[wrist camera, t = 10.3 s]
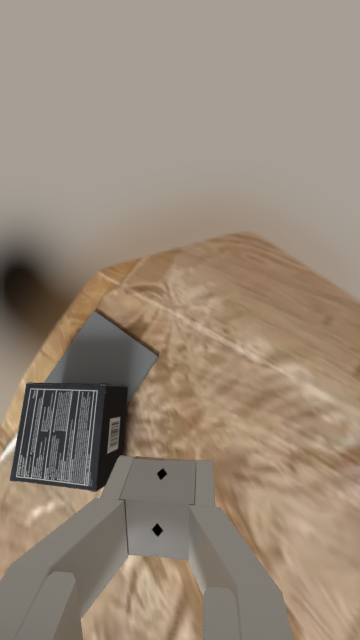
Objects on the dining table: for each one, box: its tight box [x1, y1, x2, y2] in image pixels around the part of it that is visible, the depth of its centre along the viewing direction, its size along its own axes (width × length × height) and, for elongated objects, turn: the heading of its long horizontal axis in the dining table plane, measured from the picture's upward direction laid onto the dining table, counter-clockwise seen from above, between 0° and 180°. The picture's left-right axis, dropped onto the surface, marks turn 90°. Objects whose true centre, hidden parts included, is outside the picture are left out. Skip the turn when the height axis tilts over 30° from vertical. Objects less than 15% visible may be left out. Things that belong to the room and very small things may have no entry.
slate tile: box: [20, 311, 159, 417], centre depth 36 cm, size 12×18×1 cm, turn 145°
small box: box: [10, 383, 128, 492], centre depth 31 cm, size 11×6×10 cm
